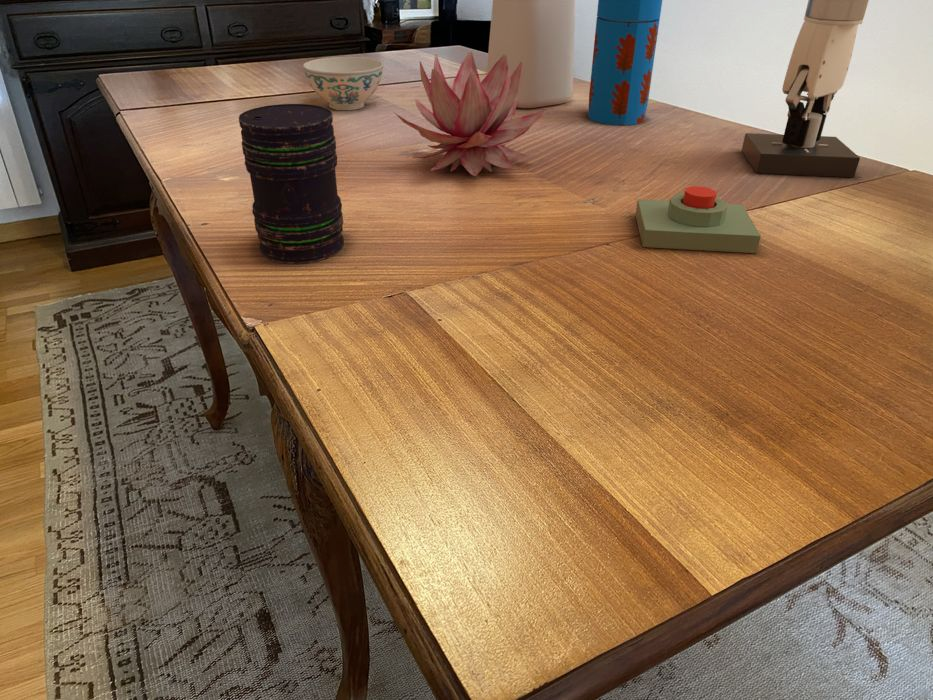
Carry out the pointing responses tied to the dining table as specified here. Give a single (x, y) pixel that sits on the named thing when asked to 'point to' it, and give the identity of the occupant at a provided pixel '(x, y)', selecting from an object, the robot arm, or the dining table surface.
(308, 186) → the dark brown cylinder
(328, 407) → the dining table surface
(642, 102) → the thermos
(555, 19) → the plastic bottle
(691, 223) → the switch block
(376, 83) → the chinaware
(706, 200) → the power button
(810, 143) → the temp dial
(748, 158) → the dial base
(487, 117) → the decorative flower
